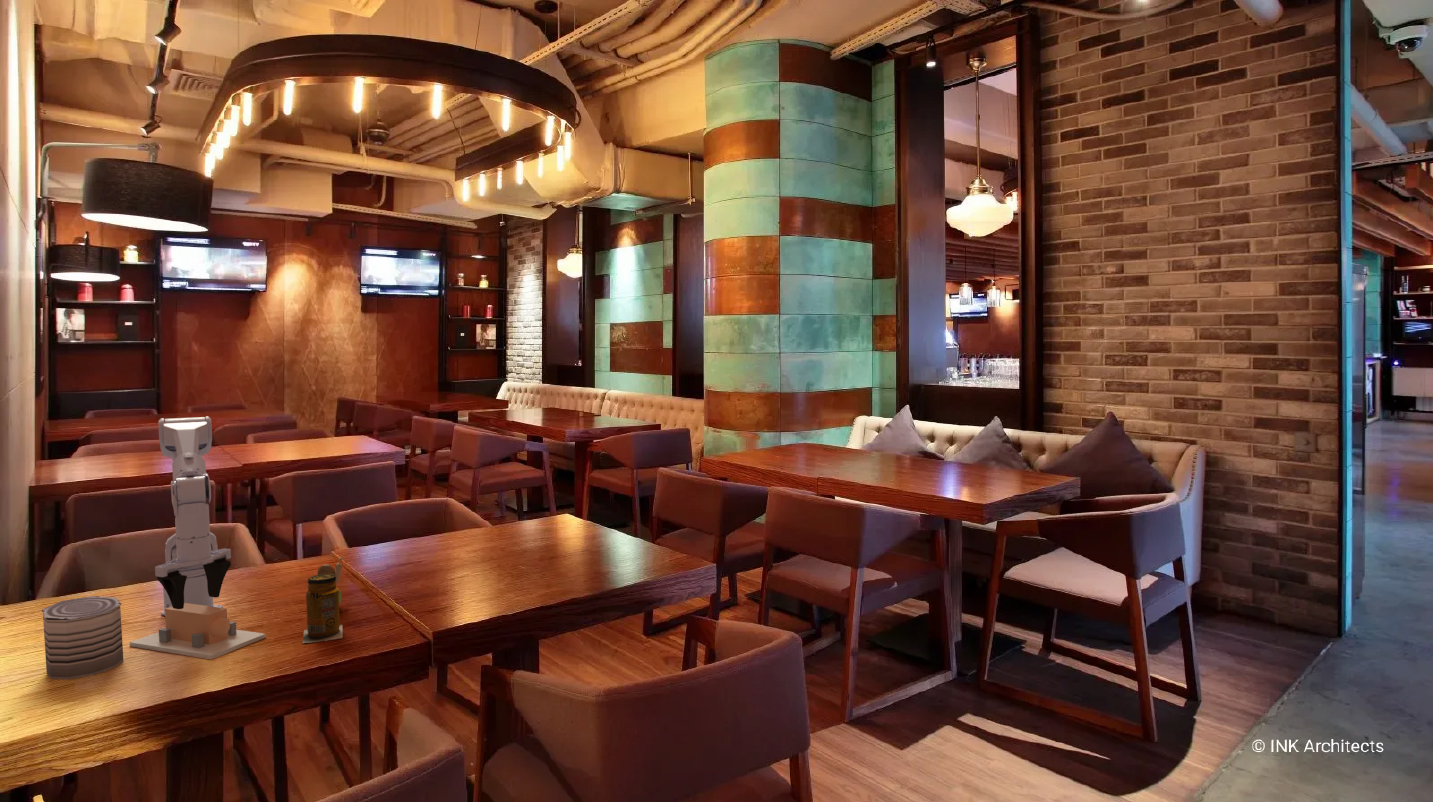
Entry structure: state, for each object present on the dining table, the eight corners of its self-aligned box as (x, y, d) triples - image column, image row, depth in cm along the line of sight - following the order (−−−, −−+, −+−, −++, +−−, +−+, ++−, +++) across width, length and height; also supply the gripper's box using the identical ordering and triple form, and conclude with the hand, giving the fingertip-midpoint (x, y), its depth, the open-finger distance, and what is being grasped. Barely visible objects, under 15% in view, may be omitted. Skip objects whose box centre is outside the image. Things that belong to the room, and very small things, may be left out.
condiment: (342, 625, 168) (340, 570, 167) (342, 638, 160) (340, 580, 159) (303, 631, 165) (301, 574, 164) (302, 644, 157) (299, 585, 156)
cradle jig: (129, 645, 157) (128, 629, 156) (187, 625, 168) (186, 610, 168) (210, 659, 149) (210, 642, 149) (265, 637, 161) (264, 621, 161)
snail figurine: (335, 614, 175) (333, 561, 174) (309, 612, 176) (307, 560, 175) (351, 606, 180) (349, 555, 179) (326, 604, 181) (324, 553, 181)
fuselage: (166, 637, 159) (164, 608, 158) (185, 630, 163) (183, 602, 162) (217, 645, 154) (215, 615, 154) (235, 638, 158) (234, 609, 158)
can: (114, 650, 154) (111, 590, 153) (131, 665, 147) (128, 602, 146) (39, 669, 145) (35, 605, 145) (53, 685, 138) (49, 619, 137)
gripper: (172, 546, 149) (175, 615, 150) (240, 529, 163) (243, 593, 164) (145, 543, 151) (149, 612, 152) (215, 526, 165) (218, 590, 166)
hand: (196, 602), depth 158 cm, fingers open, 7 cm apart
